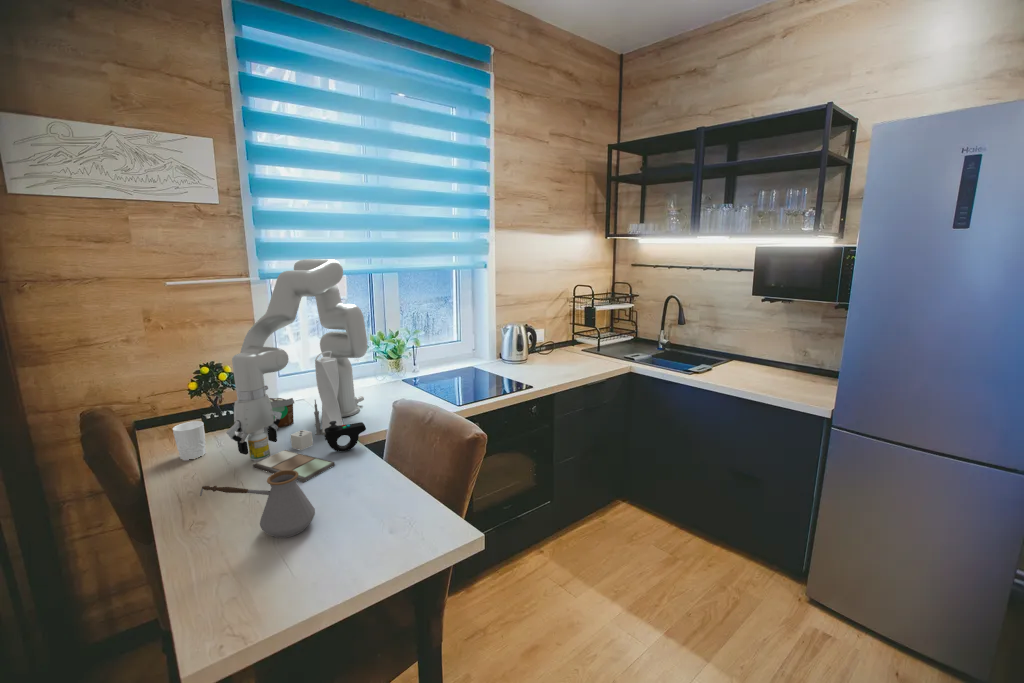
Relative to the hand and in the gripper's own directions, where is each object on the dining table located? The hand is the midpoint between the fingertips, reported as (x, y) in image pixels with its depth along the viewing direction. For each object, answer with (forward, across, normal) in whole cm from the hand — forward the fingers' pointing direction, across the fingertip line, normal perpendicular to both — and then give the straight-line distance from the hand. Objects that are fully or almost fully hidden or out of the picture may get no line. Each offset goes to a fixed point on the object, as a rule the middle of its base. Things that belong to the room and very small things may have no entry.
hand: (258, 447), depth 144 cm
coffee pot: (+4, +26, +38) cm, 46 cm away
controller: (+3, -15, +21) cm, 26 cm away
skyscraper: (+4, -25, +4) cm, 26 cm away
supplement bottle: (+3, 0, 0) cm, 3 cm away
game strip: (+3, 0, +15) cm, 15 cm away
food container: (+3, -20, -18) cm, 27 cm away
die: (+3, -11, +6) cm, 13 cm away
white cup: (+3, +8, -20) cm, 22 cm away
